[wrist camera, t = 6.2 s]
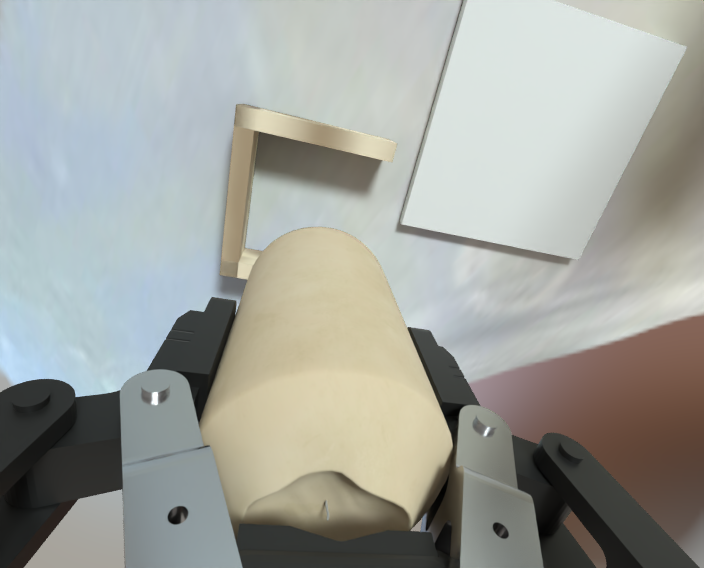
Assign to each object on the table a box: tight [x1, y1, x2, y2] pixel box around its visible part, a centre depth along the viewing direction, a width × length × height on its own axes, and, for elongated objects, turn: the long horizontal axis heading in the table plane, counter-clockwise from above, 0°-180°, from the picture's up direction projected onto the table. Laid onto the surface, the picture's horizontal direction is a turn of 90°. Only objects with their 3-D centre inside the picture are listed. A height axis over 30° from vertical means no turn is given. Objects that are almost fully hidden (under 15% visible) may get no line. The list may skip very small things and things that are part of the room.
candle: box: [199, 227, 453, 541], centre depth 11 cm, size 6×6×10 cm
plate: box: [400, 0, 687, 260], centre depth 28 cm, size 16×16×1 cm
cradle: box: [220, 104, 397, 280], centre depth 28 cm, size 10×11×3 cm
